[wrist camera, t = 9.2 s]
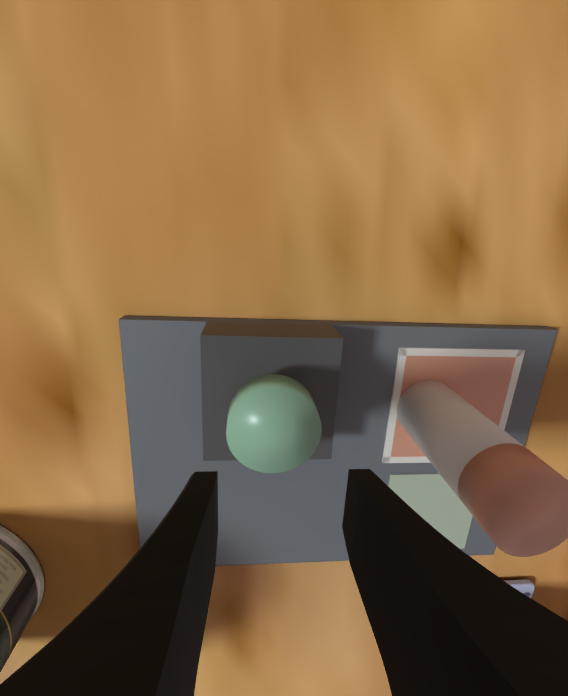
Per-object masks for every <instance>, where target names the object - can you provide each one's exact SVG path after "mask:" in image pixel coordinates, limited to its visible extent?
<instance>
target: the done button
mask: <svg viewBox="0 0 568 696" xmlns="http://www.w3.org/2000/svg"><path fill="white" fill-rule="evenodd" d="M321 433H322V426H321V420H320V417H319V414H318V411H317V409H316V406H315V403H314V401H313V398H312V396H311V394H310V393H309V391H308V390H307V389H306V388H305V387H304V386H303V385H302V384H301V383H300V382H298V381H297V380H295V379H293V378H290V377H287V376H284V375H277V374H270V375H263V376H259V377H256V378H254V379H252V380H250V381H248V382H246V383H245V384H244V385H242V386H241V387H240V388H239V389H238V390H237V392H236V393H235V394H234V396H233V398H232V400H231V402H230V405H229V410H228V418H227V427H226V439H227V443H228V446H229V449H230V451H231V452H232V454H233V455H234V457H235V458H236V459H237V460H238V461H239V462H240V463H242V464H243V465H244V466H246V467H248V468H250V469H252V470H255V471H258V472H262V473H281V472H286V471H289V470H292V469H294V468H296V467H298V466H300V465H301V464H303V463H304V462H306V461H307V460H308V459H309V458H310V457H311V456H312V454H313V453H314V452H315V450H316V449H317V446H318V444H319V442H320V438H321Z"/></svg>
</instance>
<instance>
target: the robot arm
mask: <svg viewBox="0 0 568 696" xmlns="http://www.w3.org/2000/svg"><path fill="white" fill-rule="evenodd" d="M342 529H343V534H344V539H345V544H346V548H347V553H348V557H349V561H350V565H351V568H352V571H353V574H354V577H355V580H356V583H357V586H358V589H359V592H360V595H361V598H362V601H363V604H364V607H365V610H366V613H367V616H368V619H369V621H370V624H371V627H372V630H373V633H374V636H375V639H376V642H377V645H378V648H379V651H380V654H381V657H382V660H383V664H384V667H385V670H386V674H387V677H388V681H389V685H390V689H391V693H392V696H568V621H567V620H565V619H564V618H562V617H560V616H558V615H557V614H555V613H553V612H552V611H550V610H549V609H547V608H545V607H544V606H542V605H541V604H539V603H537V602H536V601H534V600H533V599H531V598H532V595H533V592H534V588H535V586H534V584H533V583H532V582H531V581H530V580H527V579H524V580H502V579H500V578H499V577H497V576H496V575H495V574H493V573H492V572H490V571H489V570H488V569H486V568H485V567H483V566H482V565H481V564H479V563H478V562H476V561H475V560H474V559H472V558H471V557H470V556H468V555H467V554H466V553H464V552H463V551H462V550H461V549H459V548H458V547H457V546H456V545H454V544H453V543H452V542H451V541H449V540H448V539H447V538H446V537H444V536H443V535H442V534H441V533H439V532H438V531H437V530H436V529H435V528H434V527H432V526H431V525H430V524H429V523H428V522H427V521H425V520H424V519H423V518H422V517H421V516H420V515H419V514H418V513H416V512H415V511H414V510H413V509H412V508H411V507H410V506H409V505H408V504H407V503H405V502H404V501H403V500H402V499H401V498H400V497H399V496H398V495H397V494H396V493H395V492H394V491H393V490H392V489H391V488H390V487H388V486H387V485H386V484H385V483H384V482H383V481H382V480H381V479H380V478H379V477H378V476H377V475H376V474H375V473H374V472H373V471H371V470H370V469H349V472H348V481H347V489H346V498H345V506H344V515H343V523H342ZM217 540H218V471H204V472H194V473H193V474H192V475H191V476H190V478H189V480H188V482H187V484H186V485H185V487H184V489H183V490H182V492H181V493H180V495H179V496H178V498H177V499H176V501H175V502H174V504H173V505H172V507H171V508H170V510H169V511H168V513H167V514H166V515H165V517H164V518H163V519H162V521H161V522H160V524H159V525H158V526H157V528H156V529H155V530H154V532H153V533H152V534H151V536H150V537H149V538H148V539H147V540H146V542H145V543H144V544H143V545H142V547H141V548H140V549H139V550H138V552H137V553H136V554H135V555H134V557H133V558H132V559H131V560H130V561H129V562H128V564H127V565H126V566H125V567H124V568H123V569H122V570H121V572H120V573H119V574H118V575H117V576H116V577H115V578H114V579H113V580H112V581H111V582H110V583H109V585H108V586H107V587H106V588H105V589H104V590H103V591H102V592H101V593H100V594H99V595H98V596H97V597H96V598H95V599H94V600H93V601H92V602H91V603H90V604H89V605H88V606H87V607H86V608H85V609H84V610H83V611H82V612H81V613H80V614H79V615H78V616H77V617H76V618H75V619H74V620H73V621H72V622H71V623H70V624H69V625H68V626H67V627H65V628H64V629H63V630H62V631H61V632H60V633H59V634H58V635H57V636H56V637H55V638H54V639H52V640H51V641H50V642H49V643H48V644H47V645H46V646H45V647H43V648H42V649H41V650H40V651H39V652H38V653H36V654H35V655H34V656H33V657H32V658H31V659H29V660H28V661H27V662H26V663H25V664H24V665H22V666H21V667H20V668H19V669H18V670H17V671H15V672H14V673H13V674H12V675H11V676H10V677H9V678H7V679H6V680H5V681H4V682H3V683H2V684H0V696H194V690H195V683H196V676H197V669H198V663H199V657H200V651H201V646H202V640H203V635H204V629H205V624H206V618H207V612H208V607H209V601H210V596H211V590H212V584H213V579H214V573H215V565H216V553H217Z"/></svg>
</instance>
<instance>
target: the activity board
mask: <svg viewBox="0 0 568 696" xmlns="http://www.w3.org/2000/svg"><path fill="white" fill-rule="evenodd" d="M206 322H247V323H289V324H330V325H332V326H333V327H334V328H335V329H336V330H337V332H338V333H339V334H340V335H341V336H342V337H343V347H342V357H341V367H340V377H339V387H338V397H337V407H336V417H335V427H334V437H333V447H332V457H331V459H308V460H307V461H306V462H304V463H303V464H301V465H300V466H298V467H296V468H294V469H292V470H289V471H286V472H281V473H262V472H258V471H255V470H252V469H250V468H248V467H246V466H244V465H243V464H242V463H240V462H239V461H238V460H232V461H203V432H202V389H201V347H200V335H201V333H202V331H203V328H204V326H205V324H206ZM119 327H120V338H121V349H122V360H123V371H124V381H125V392H126V403H127V414H128V425H129V435H130V446H131V457H132V468H133V479H134V489H135V500H136V511H137V522H138V533H139V543H140V548H141V547H142V545H143V544H144V543H145V542H146V540H147V539H148V538H149V537H150V536H151V534H152V533H153V532H154V530H155V529H156V528H157V526H158V525H159V524H160V522H161V521H162V519H163V518H164V517H165V515H166V514H167V513H168V511H169V510H170V508H171V507H172V505H173V504H174V502H175V501H176V499H177V498H178V496H179V495H180V493H181V492H182V490H183V489H184V487H185V485H186V484H187V482H188V480H189V478H190V476H191V475H192V474H193V473H194V472H204V471H218V540H217V553H216V565H215V566H225V565H250V564H274V563H298V562H322V561H347V560H349V557H348V553H347V548H346V544H345V539H344V534H343V529H342V523H343V515H344V506H345V498H346V489H347V481H348V472H349V469H370V470H371V471H373V472H374V473H375V474H376V475H377V476H378V477H379V478H380V479H381V480H382V481H383V482H384V483H385V484H386V485H387V486H388V487H390V488H391V489H392V490H393V491H394V492H395V493H396V494H397V495H398V496H399V497H400V498H401V499H402V500H403V501H404V502H405V503H407V504H408V505H409V506H410V507H411V508H412V509H413V510H414V511H415V512H416V513H418V514H419V515H420V516H421V517H422V518H423V519H424V520H425V521H427V522H428V523H429V524H430V525H431V526H432V527H434V528H435V529H436V530H437V531H438V532H439V533H441V534H442V535H443V536H444V537H446V538H447V539H448V540H449V541H451V542H452V543H453V544H454V545H456V546H457V547H458V548H459V549H461V550H462V551H463V552H464V553H466V554H467V555H492V554H494V552H495V548H496V545H495V543H494V542H493V541H492V540H491V538H490V537H489V536H488V535H487V533H486V532H485V531H484V529H483V528H482V527H481V526H480V524H479V523H478V522H477V521H476V519H475V518H474V517H473V516H472V514H471V513H470V512H469V510H468V509H467V508H466V507H465V505H464V504H463V503H462V502H461V500H460V499H459V498H458V497H457V495H456V494H455V493H454V491H453V490H452V489H451V488H450V486H449V485H448V484H447V483H446V481H445V480H444V479H443V477H442V476H441V475H440V474H439V472H438V471H437V470H436V469H435V467H434V466H433V465H432V464H431V462H430V461H429V460H428V458H427V457H426V456H425V455H424V453H423V452H422V451H421V450H420V448H419V447H418V446H417V445H416V443H415V442H414V441H413V439H412V438H411V437H410V436H409V434H408V433H407V432H406V431H405V429H404V428H403V427H402V426H401V424H400V423H399V421H398V418H397V413H396V410H397V404H398V401H399V399H400V397H401V396H402V394H403V393H404V392H405V391H406V390H407V389H408V388H409V387H410V386H412V385H414V384H415V383H418V382H420V381H424V380H436V381H439V382H442V383H444V384H445V385H446V386H448V387H449V388H450V389H452V390H453V391H454V392H455V393H457V394H458V395H459V396H460V397H462V398H463V399H464V400H466V401H467V402H468V403H469V404H471V405H472V406H473V407H475V408H476V409H477V410H478V411H480V412H481V413H482V414H484V415H485V416H486V417H487V418H489V419H490V420H491V421H492V422H494V423H495V424H496V425H498V426H499V427H500V428H501V429H503V430H504V431H505V432H507V433H508V434H509V435H510V436H512V437H513V438H514V439H516V440H517V441H518V442H519V443H521V444H522V445H523V446H525V442H526V439H527V435H528V432H529V428H530V425H531V421H532V418H533V414H534V411H535V407H536V404H537V400H538V397H539V393H540V389H541V386H542V382H543V379H544V375H545V372H546V368H547V365H548V361H549V358H550V354H551V351H552V347H553V344H554V340H555V337H556V333H557V330H556V329H553V328H550V327H547V326H519V325H479V324H439V323H400V322H360V321H321V320H281V319H242V318H202V317H162V316H123V317H122V318H120V319H119Z"/></svg>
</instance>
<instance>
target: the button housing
mask: <svg viewBox="0 0 568 696" xmlns="http://www.w3.org/2000/svg"><path fill="white" fill-rule="evenodd" d="M200 347H201V389H202V432H203V461H232V460H237V459H236V458H235V457H234V455H233V454H232V452H231V451H230V449H229V446H228V443H227V439H226V427H227V418H228V410H229V405H230V402H231V400H232V398H233V396H234V394H235V393H236V392H237V390H238V389H239V388H240V387H241V386H242V385H244V384H245V383H246V382H248V381H250V380H252V379H254V378H256V377H259V376H263V375H270V374H277V375H284V376H287V377H290V378H293V379H295V380H297V381H298V382H300V383H301V384H302V385H303V386H304V387H305V388H306V389H307V390H308V391H309V393H310V394H311V396H312V398H313V401H314V403H315V406H316V409H317V411H318V414H319V417H320V420H321V426H322V433H321V438H320V442H319V444H318V446H317V449H316V450H315V452H314V453H313V454H312V456H311V457H310V458H309V459H331V457H332V447H333V437H334V427H335V417H336V407H337V397H338V387H339V377H340V367H341V357H342V347H343V337H342V336H341V335H340V334H339V333H338V332H337V330H336V329H335V328H334V327H333V326H332V325H330V324H289V323H247V322H206V324H205V326H204V328H203V331H202V333H201V335H200Z"/></svg>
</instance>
